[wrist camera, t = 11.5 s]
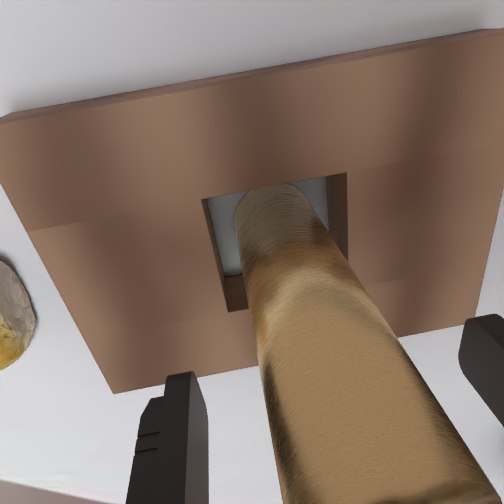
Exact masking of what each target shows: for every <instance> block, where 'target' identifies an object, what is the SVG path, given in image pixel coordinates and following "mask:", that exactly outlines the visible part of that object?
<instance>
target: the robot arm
mask: <svg viewBox="0 0 504 504" xmlns="http://www.w3.org/2000/svg"><path fill="white" fill-rule="evenodd" d="M458 359H459V364H460V367H461V370H462V372H463V374H464V375H465V377H466V378H467V379H468V381H469V382H470V383H471V385H472V386H473V387H474V389H475V390H476V391H477V392H478V394H479V395H480V396H481V398H482V399H483V400H484V402H485V403H486V404H487V406H488V407H489V408H490V410H491V411H492V412H493V413H494V415H495V416H496V417H497V419H498V420H499V421H500V423H501V424H502V425H503V427H504V319H503V318H502V317H501V316H499V315H497V314H490V315H484V316H479V317H474V318H469V319H467V320H466V321H465V324H464V329H463V334H462V339H461V344H460V349H459V354H458ZM137 436H138V439H137V441H136V447H135V456H134V458H133V464H132V470H131V476H130V481H129V487H128V493H127V499H126V504H209V473H208V415H207V409H206V404H205V401H204V398H203V395H202V392H201V390H200V387H199V384H198V381H197V378H196V375H195V373H194V371H188V372H183V373H178V374H173V375H168V376H167V378H166V382H165V391H164V396H162V397H156V398H151V399H150V401H149V403H148V405H147V406H146V408H145V410H144V412H143V413H142V415H141V418H140V424H139V429H138V435H137Z"/></svg>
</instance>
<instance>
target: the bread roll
mask: <svg viewBox="0 0 504 504" xmlns="http://www.w3.org/2000/svg"><path fill="white" fill-rule="evenodd" d="M35 323H36V319H35V316H34V313H33V311H32V308H31V305H30V300H29V296H28V294H27V292H26V291H25V289H24V286H23V285H22V283H21V282H20V280H19V278H18V277H17V275H16V274H15V273H14V271H13V270H12V269H11V268H10V267H9V266H8V265H6V264H5V263H3V262H2V261H0V370H2V369H4V368H6V367H8V366H9V365H11V364H12V363H14V362H15V361H16V360H18V359H19V358H20V357H21V355H22V354H23V353H24V351H26V349H27V348H28V347H29V345H30V341H31V339H32V336H33V331H34V329H35V326H36V325H35Z"/></svg>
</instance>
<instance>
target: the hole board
mask: <svg viewBox="0 0 504 504" xmlns="http://www.w3.org/2000/svg"><path fill="white" fill-rule="evenodd" d="M323 176H327V196H328V218H329V234H330V236H331V237H332V239H333V240H334V242H335V243H336V245H337V246H338V248H339V249H340V251H341V253H342V254H343V256H344V257H345V259H346V260H347V262H348V263H349V265H350V266H351V268H352V270H353V271H354V273H355V274H356V276H357V277H358V279H359V280H360V282H361V283H362V285H363V286H364V288H365V290H366V291H367V293H368V294H369V296H370V297H371V299H372V300H373V302H374V303H375V305H376V307H377V308H378V310H379V311H380V313H381V314H382V316H383V317H384V319H385V320H386V322H387V324H388V325H389V327H390V328H391V330H392V331H393V333H394V334H395V336H396V337H397V338H398V337H403V336H408V335H413V334H418V333H423V332H428V331H433V330H438V329H443V328H448V327H453V326H458V325H464V324H465V321H466V320H467V319H469V318H474V317H475V314H476V309H477V305H478V300H479V296H480V291H481V287H482V282H483V278H484V273H485V269H486V264H487V260H488V255H489V251H490V246H491V242H492V237H493V233H494V228H495V224H496V219H497V215H498V210H499V206H500V201H501V197H502V192H503V188H504V28H502V29H480V30H475V31H469V32H463V33H458V34H452V35H447V36H441V37H435V38H430V39H424V40H419V41H413V42H407V43H402V44H396V45H391V46H385V47H379V48H374V49H368V50H363V51H357V52H351V53H346V54H340V55H335V56H329V57H323V58H318V59H312V60H307V61H301V62H295V63H290V64H284V65H278V66H273V67H267V68H262V69H256V70H250V71H245V72H239V73H234V74H228V75H222V76H217V77H211V78H206V79H200V80H194V81H189V82H183V83H178V84H172V85H166V86H161V87H155V88H150V89H144V90H138V91H133V92H127V93H122V94H116V95H110V96H105V97H99V98H94V99H88V100H82V101H77V102H71V103H65V104H60V105H54V106H49V107H43V108H37V109H32V110H26V111H21V112H15V113H10V114H8V115H5V116H3V117H0V183H1V185H2V187H3V189H4V191H5V193H6V195H7V196H8V198H9V200H10V202H11V204H12V206H13V208H14V210H15V211H16V213H17V215H18V217H19V219H20V221H21V223H22V224H23V226H24V228H25V230H26V232H27V234H28V236H29V238H30V239H31V241H32V243H33V245H34V247H35V249H36V251H37V252H38V254H39V256H40V258H41V260H42V262H43V264H44V266H45V267H46V269H47V271H48V273H49V275H50V277H51V279H52V280H53V282H54V284H55V286H56V288H57V290H58V292H59V294H60V295H61V297H62V299H63V301H64V303H65V305H66V307H67V308H68V310H69V312H70V314H71V316H72V318H73V320H74V322H75V323H76V325H77V327H78V329H79V331H80V333H81V335H82V336H83V338H84V340H85V342H86V344H87V346H88V348H89V350H90V351H91V353H92V355H93V357H94V359H95V361H96V363H97V364H98V366H99V368H100V370H101V372H102V374H103V376H104V378H105V379H106V381H107V383H108V385H109V387H110V389H111V391H112V392H113V394H117V393H122V392H127V391H132V390H137V389H142V388H147V387H152V386H157V385H162V384H165V382H166V378H167V376H168V375H173V374H178V373H183V372H188V371H194V373H195V375H196V378H197V377H202V376H207V375H212V374H218V373H223V372H228V371H233V370H238V369H243V368H248V367H253V366H258V365H259V363H258V357H257V352H256V346H255V340H254V334H253V329H252V323H251V317H250V312H249V306H248V300H247V294H246V289H245V283H244V277H243V274H242V275H237V276H232V277H227V278H225V277H224V272H223V268H222V264H221V259H220V255H219V251H218V246H217V242H216V238H215V233H214V229H213V225H212V221H211V216H210V212H209V208H208V203H207V199H206V198H211V197H216V196H222V195H227V194H232V193H238V192H243V191H248V190H254V189H259V188H265V187H270V186H275V185H281V184H286V183H291V182H297V181H302V180H307V179H313V178H318V177H323Z"/></svg>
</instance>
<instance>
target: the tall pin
mask: <svg viewBox="0 0 504 504" xmlns="http://www.w3.org/2000/svg"><path fill="white" fill-rule="evenodd" d="M234 225H235V231H236V237H237V243H238V249H239V254H240V260H241V266H242V272H243V277H244V283H245V289H246V294H247V300H248V306H249V312H250V317H251V323H252V329H253V334H254V340H255V346H256V352H257V357H258V363H259V369H260V374H261V380H262V386H263V392H264V397H265V403H266V409H267V414H268V420H269V426H270V432H271V437H272V443H273V449H274V454H275V460H276V466H277V472H278V477H279V483H280V489H281V495H282V500H283V504H502V501H501V498H500V496H499V495H498V493H497V492H496V490H495V489H494V487H493V485H492V484H491V482H490V481H489V479H488V478H487V476H486V475H485V473H484V472H483V470H482V469H481V467H480V465H479V464H478V462H477V461H476V459H475V458H474V456H473V455H472V453H471V452H470V450H469V448H468V447H467V445H466V444H465V442H464V441H463V439H462V438H461V436H460V435H459V433H458V431H457V430H456V428H455V427H454V425H453V424H452V422H451V421H450V419H449V418H448V416H447V415H446V413H445V411H444V410H443V408H442V407H441V405H440V404H439V402H438V401H437V399H436V398H435V396H434V394H433V393H432V391H431V390H430V388H429V387H428V385H427V384H426V382H425V381H424V379H423V378H422V376H421V374H420V373H419V371H418V370H417V368H416V367H415V365H414V364H413V362H412V361H411V359H410V357H409V356H408V354H407V353H406V351H405V350H404V348H403V347H402V345H401V344H400V342H399V340H398V339H397V337H396V336H395V334H394V333H393V331H392V330H391V328H390V327H389V325H388V324H387V322H386V320H385V319H384V317H383V316H382V314H381V313H380V311H379V310H378V308H377V307H376V305H375V303H374V302H373V300H372V299H371V297H370V296H369V294H368V293H367V291H366V290H365V288H364V286H363V285H362V283H361V282H360V280H359V279H358V277H357V276H356V274H355V273H354V271H353V270H352V268H351V266H350V265H349V263H348V262H347V260H346V259H345V257H344V256H343V254H342V253H341V251H340V249H339V248H338V246H337V245H336V243H335V242H334V240H333V239H332V237H331V236H330V234H329V232H328V231H327V229H326V228H325V226H324V225H323V223H322V222H321V220H320V219H319V217H318V216H317V214H316V212H315V211H314V209H313V208H312V206H311V205H310V203H309V202H308V200H307V199H306V197H305V196H304V194H303V193H302V192H301V191H300V190H298V189H297V188H295V187H294V186H292V185H289V184H281V185H275V186H270V187H265V188H259V189H254V190H250V191H249V192H248V193H247V194H245V195H244V197H243V198H242V199H241V200H240V202H239V204H238V206H237V208H236V211H235V215H234Z"/></svg>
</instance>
